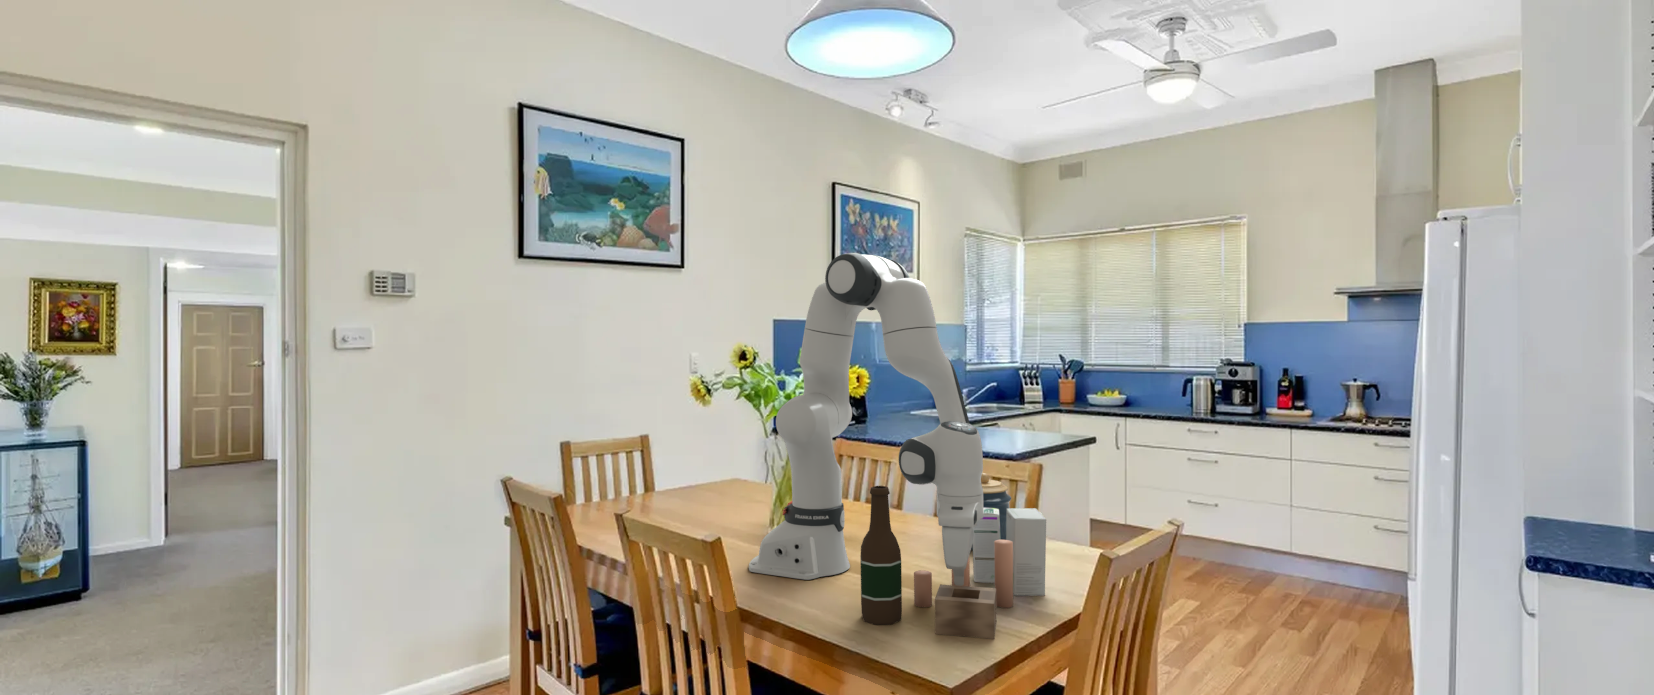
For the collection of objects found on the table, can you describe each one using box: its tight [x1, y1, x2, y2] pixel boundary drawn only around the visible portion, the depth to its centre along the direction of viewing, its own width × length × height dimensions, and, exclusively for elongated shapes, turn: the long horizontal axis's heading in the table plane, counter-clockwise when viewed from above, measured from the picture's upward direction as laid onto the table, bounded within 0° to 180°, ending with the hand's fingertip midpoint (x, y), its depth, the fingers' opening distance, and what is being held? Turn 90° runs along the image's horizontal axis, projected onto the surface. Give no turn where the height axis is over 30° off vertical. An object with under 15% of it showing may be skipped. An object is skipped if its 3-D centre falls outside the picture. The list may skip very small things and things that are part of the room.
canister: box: [971, 472, 1012, 551], centre depth 186 cm, size 13×13×18 cm
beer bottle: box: [859, 485, 903, 626], centre depth 139 cm, size 8×8×24 cm
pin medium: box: [951, 557, 971, 587], centre depth 146 cm, size 3×3×9 cm
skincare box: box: [1006, 507, 1047, 597], centre depth 153 cm, size 8×7×16 cm
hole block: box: [934, 584, 997, 640], centre depth 134 cm, size 10×8×6 cm
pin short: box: [913, 569, 933, 608], centre depth 146 cm, size 3×3×6 cm
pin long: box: [994, 540, 1014, 609], centre depth 145 cm, size 3×3×12 cm
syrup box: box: [972, 508, 1001, 584], centre depth 160 cm, size 6×6×14 cm
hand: (960, 579), depth 146 cm, fingers open, 5 cm apart
